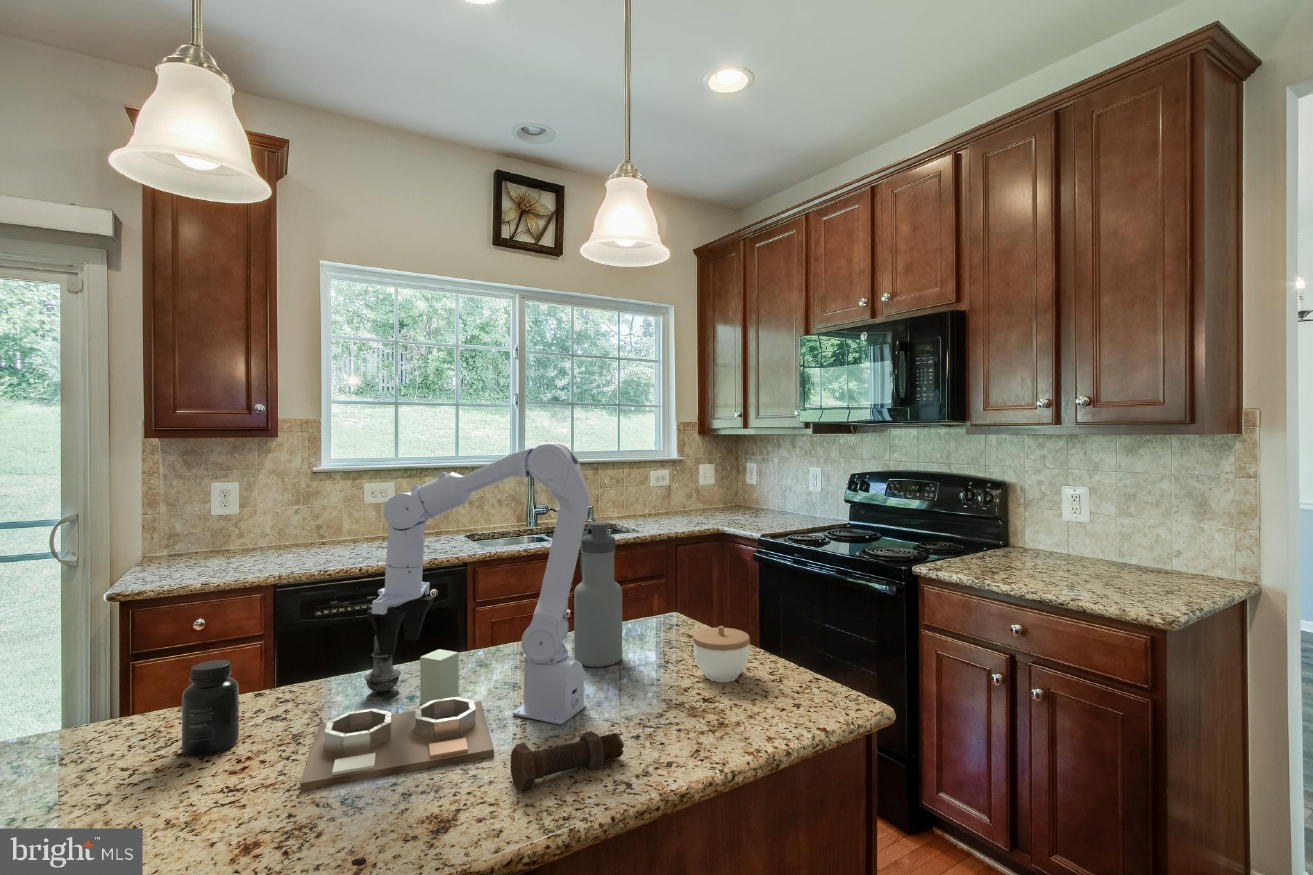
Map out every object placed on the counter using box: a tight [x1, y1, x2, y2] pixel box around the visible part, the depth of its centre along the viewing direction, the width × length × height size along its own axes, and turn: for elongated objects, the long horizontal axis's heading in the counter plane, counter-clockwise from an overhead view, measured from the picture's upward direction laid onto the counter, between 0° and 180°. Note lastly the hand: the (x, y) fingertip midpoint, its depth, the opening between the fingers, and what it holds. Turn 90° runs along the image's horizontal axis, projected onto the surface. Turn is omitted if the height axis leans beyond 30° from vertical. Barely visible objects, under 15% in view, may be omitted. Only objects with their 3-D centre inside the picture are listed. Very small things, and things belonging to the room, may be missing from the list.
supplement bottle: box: [181, 659, 240, 758], centre depth 92 cm, size 7×7×12 cm
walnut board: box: [300, 700, 495, 792], centre depth 93 cm, size 24×18×1 cm
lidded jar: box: [692, 625, 751, 683], centre depth 119 cm, size 11×11×9 cm
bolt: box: [510, 730, 625, 794], centre depth 85 cm, size 6×5×15 cm
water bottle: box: [573, 521, 623, 668], centre depth 129 cm, size 10×10×28 cm
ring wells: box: [325, 696, 476, 755], centre depth 94 cm, size 21×9×2 cm, turn 111°
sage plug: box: [419, 648, 460, 706], centre depth 108 cm, size 4×4×8 cm
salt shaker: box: [364, 634, 402, 703], centre depth 111 cm, size 6×6×12 cm
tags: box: [332, 738, 468, 775], centre depth 87 cm, size 17×4×1 cm, turn 111°
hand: (399, 646), depth 104 cm, fingers open, 7 cm apart
